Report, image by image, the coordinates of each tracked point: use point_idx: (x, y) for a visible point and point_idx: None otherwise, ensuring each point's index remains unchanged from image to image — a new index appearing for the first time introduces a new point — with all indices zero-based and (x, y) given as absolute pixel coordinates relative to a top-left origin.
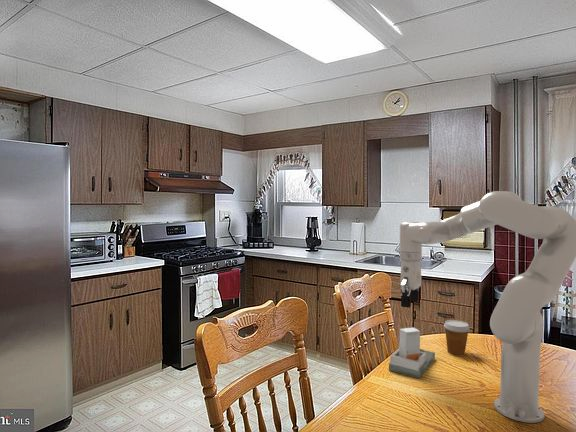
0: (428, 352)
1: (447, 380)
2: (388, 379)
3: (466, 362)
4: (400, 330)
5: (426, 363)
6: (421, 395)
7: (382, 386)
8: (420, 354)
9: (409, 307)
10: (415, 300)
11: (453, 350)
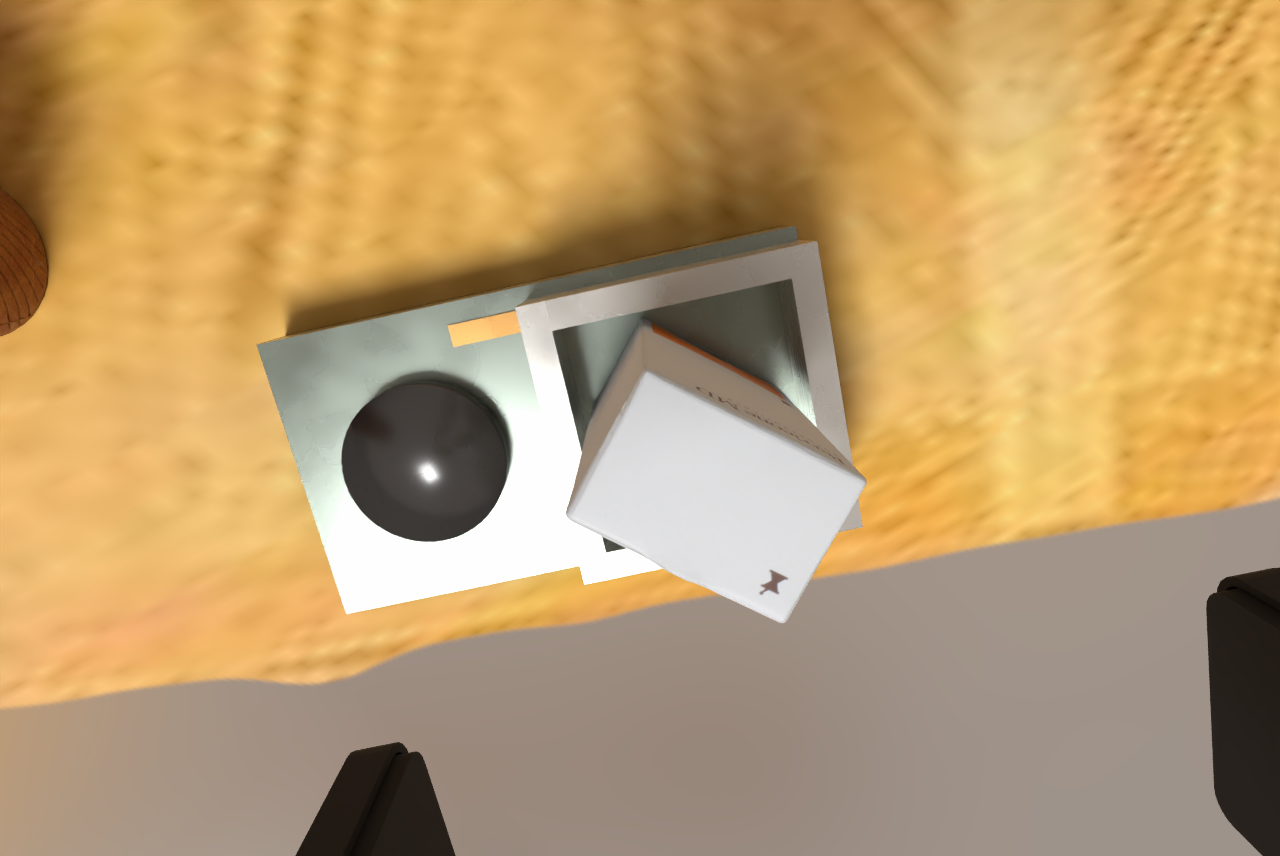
0: (309, 391)
1: (640, 25)
2: (983, 402)
3: (100, 73)
4: (794, 598)
5: (575, 274)
6: (1072, 57)
7: (1129, 367)
8: (559, 355)
9: (1269, 579)
10: (433, 821)
11: (12, 248)
